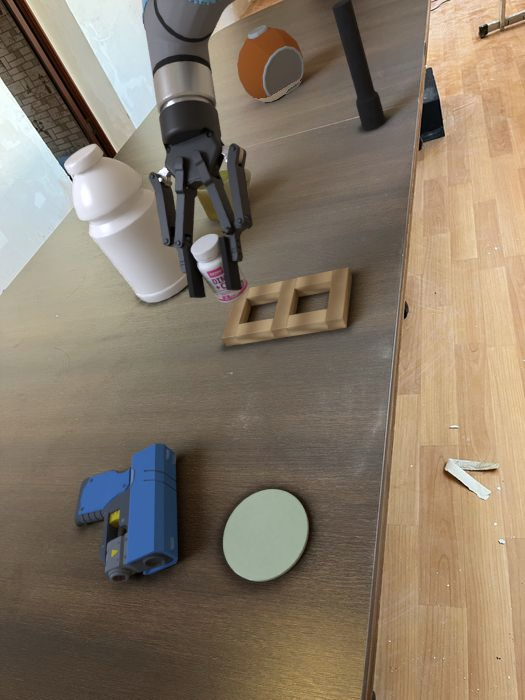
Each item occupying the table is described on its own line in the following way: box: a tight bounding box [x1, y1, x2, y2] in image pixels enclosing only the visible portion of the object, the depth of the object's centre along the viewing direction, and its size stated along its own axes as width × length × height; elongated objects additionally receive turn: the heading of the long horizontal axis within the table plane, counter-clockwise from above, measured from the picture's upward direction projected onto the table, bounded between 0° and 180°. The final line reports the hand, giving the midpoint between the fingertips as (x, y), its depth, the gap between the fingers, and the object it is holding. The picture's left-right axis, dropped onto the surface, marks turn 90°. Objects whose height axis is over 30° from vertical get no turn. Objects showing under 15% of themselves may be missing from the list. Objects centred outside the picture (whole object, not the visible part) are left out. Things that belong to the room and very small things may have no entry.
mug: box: [196, 167, 252, 223], centre depth 106 cm, size 12×10×10 cm
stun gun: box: [73, 443, 179, 583], centre depth 61 cm, size 4×16×15 cm
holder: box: [221, 266, 353, 347], centre depth 76 cm, size 20×11×2 cm, turn 79°
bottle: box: [63, 143, 188, 304], centre depth 90 cm, size 14×14×28 cm
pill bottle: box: [191, 233, 249, 304], centre depth 65 cm, size 5×5×8 cm
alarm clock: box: [236, 24, 305, 99], centre depth 141 cm, size 19×18×17 cm
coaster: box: [222, 488, 310, 583], centre depth 53 cm, size 10×10×1 cm
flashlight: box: [331, 0, 386, 131], centre depth 100 cm, size 5×24×5 cm
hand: (215, 293), depth 63 cm, fingers closed on pill bottle, 5 cm apart
